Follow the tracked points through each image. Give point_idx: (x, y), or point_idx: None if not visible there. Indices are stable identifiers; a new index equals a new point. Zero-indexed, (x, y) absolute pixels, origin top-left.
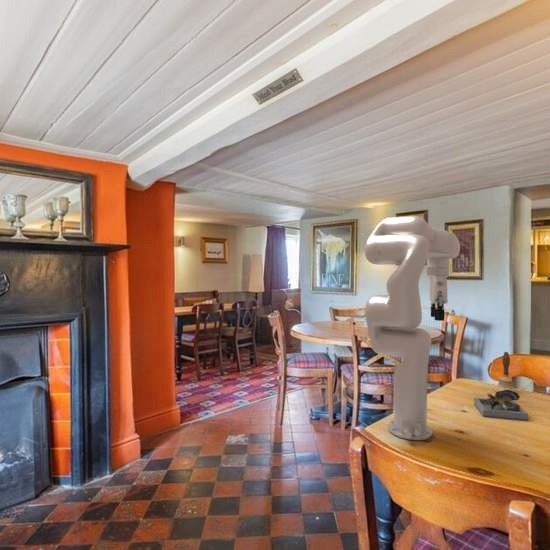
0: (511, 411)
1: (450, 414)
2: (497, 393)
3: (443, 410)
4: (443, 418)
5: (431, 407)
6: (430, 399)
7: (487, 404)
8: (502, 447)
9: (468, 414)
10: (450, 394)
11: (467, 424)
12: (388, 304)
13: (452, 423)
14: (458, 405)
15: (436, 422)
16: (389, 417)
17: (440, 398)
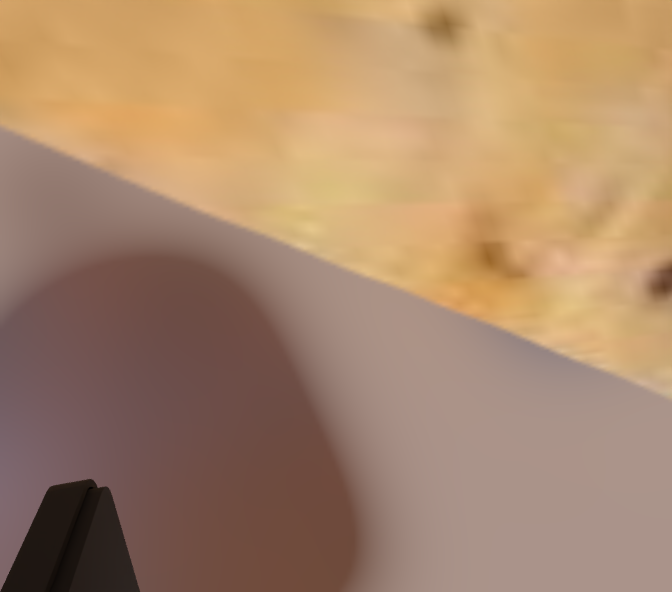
0: None
1: (520, 106)
2: None
3: (470, 141)
4: (586, 144)
5: (443, 204)
6: (307, 211)
7: None
8: None
9: (492, 3)
10: (146, 85)
11: (638, 26)
12: None
13: (641, 103)
14: (355, 49)
15: (644, 179)
16: (630, 377)
17: (263, 153)
